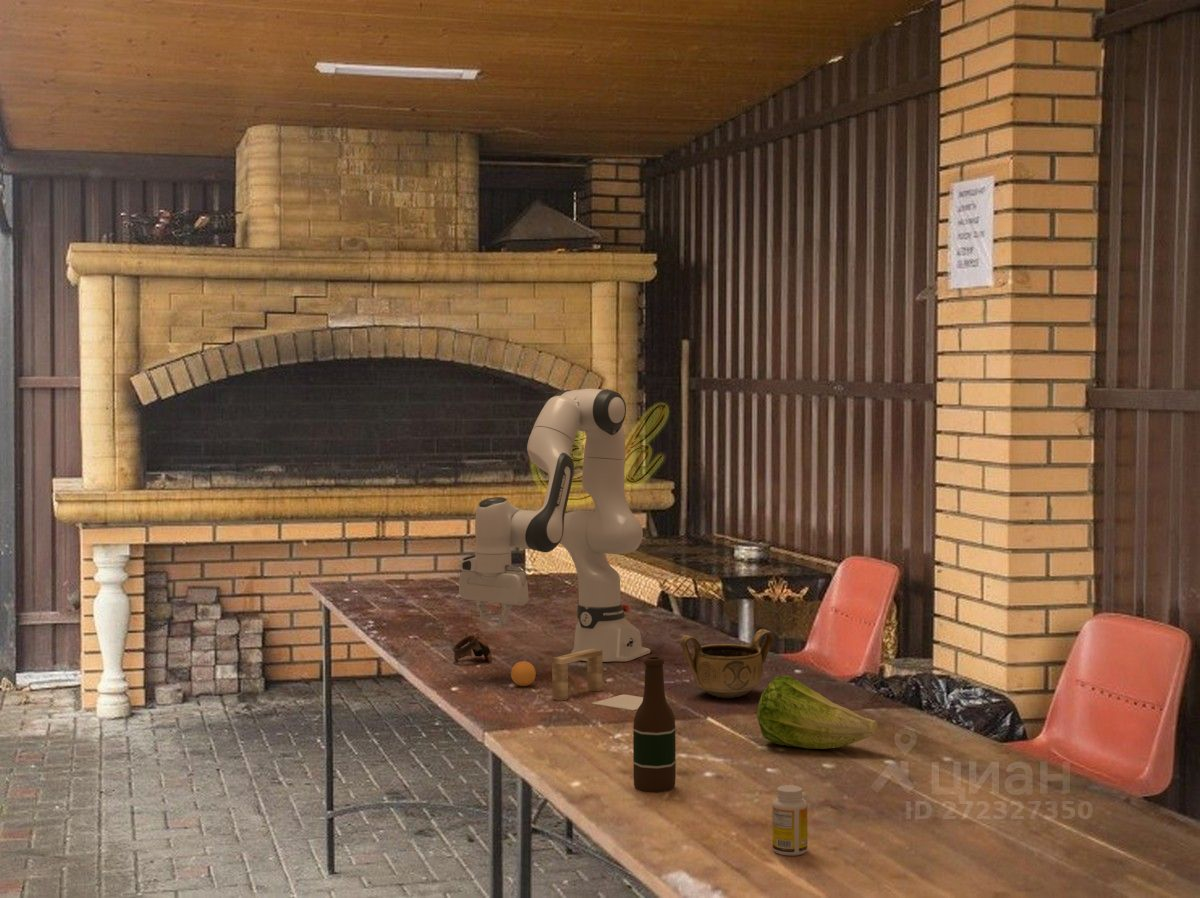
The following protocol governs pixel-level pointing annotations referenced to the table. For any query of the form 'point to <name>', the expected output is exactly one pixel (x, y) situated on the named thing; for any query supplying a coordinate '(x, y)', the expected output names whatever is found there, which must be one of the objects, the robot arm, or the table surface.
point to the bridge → (562, 672)
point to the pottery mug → (474, 644)
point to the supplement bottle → (789, 821)
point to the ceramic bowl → (728, 665)
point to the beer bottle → (654, 734)
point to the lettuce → (807, 717)
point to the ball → (523, 673)
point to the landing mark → (622, 702)
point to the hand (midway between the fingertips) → (493, 620)
